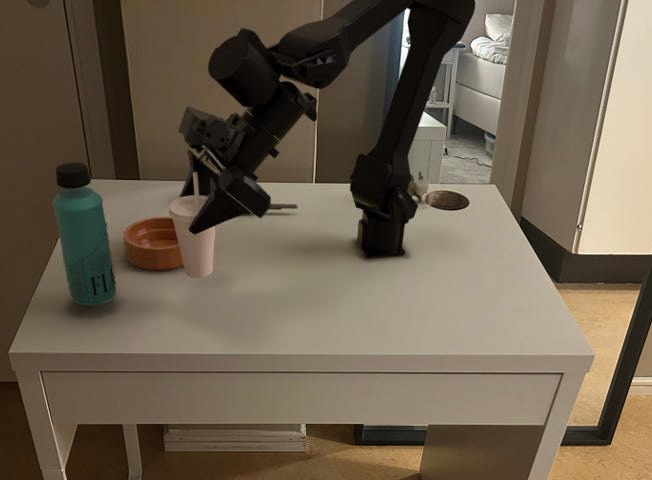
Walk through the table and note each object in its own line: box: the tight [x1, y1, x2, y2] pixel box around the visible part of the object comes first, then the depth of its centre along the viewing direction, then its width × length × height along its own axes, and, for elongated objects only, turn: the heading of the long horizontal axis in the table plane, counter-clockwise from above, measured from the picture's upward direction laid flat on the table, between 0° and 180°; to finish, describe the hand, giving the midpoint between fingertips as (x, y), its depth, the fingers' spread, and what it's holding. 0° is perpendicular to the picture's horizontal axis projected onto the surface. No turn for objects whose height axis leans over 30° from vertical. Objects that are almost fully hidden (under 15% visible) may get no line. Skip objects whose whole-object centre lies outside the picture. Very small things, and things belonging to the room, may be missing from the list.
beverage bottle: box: [52, 161, 117, 307], centre depth 93 cm, size 6×7×20 cm
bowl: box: [123, 216, 184, 271], centre depth 109 cm, size 11×11×4 cm
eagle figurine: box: [407, 170, 430, 203], centre depth 126 cm, size 8×7×9 cm
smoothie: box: [168, 172, 216, 279], centre depth 91 cm, size 6×6×14 cm
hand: (184, 221), depth 90 cm, fingers closed on smoothie, 6 cm apart
